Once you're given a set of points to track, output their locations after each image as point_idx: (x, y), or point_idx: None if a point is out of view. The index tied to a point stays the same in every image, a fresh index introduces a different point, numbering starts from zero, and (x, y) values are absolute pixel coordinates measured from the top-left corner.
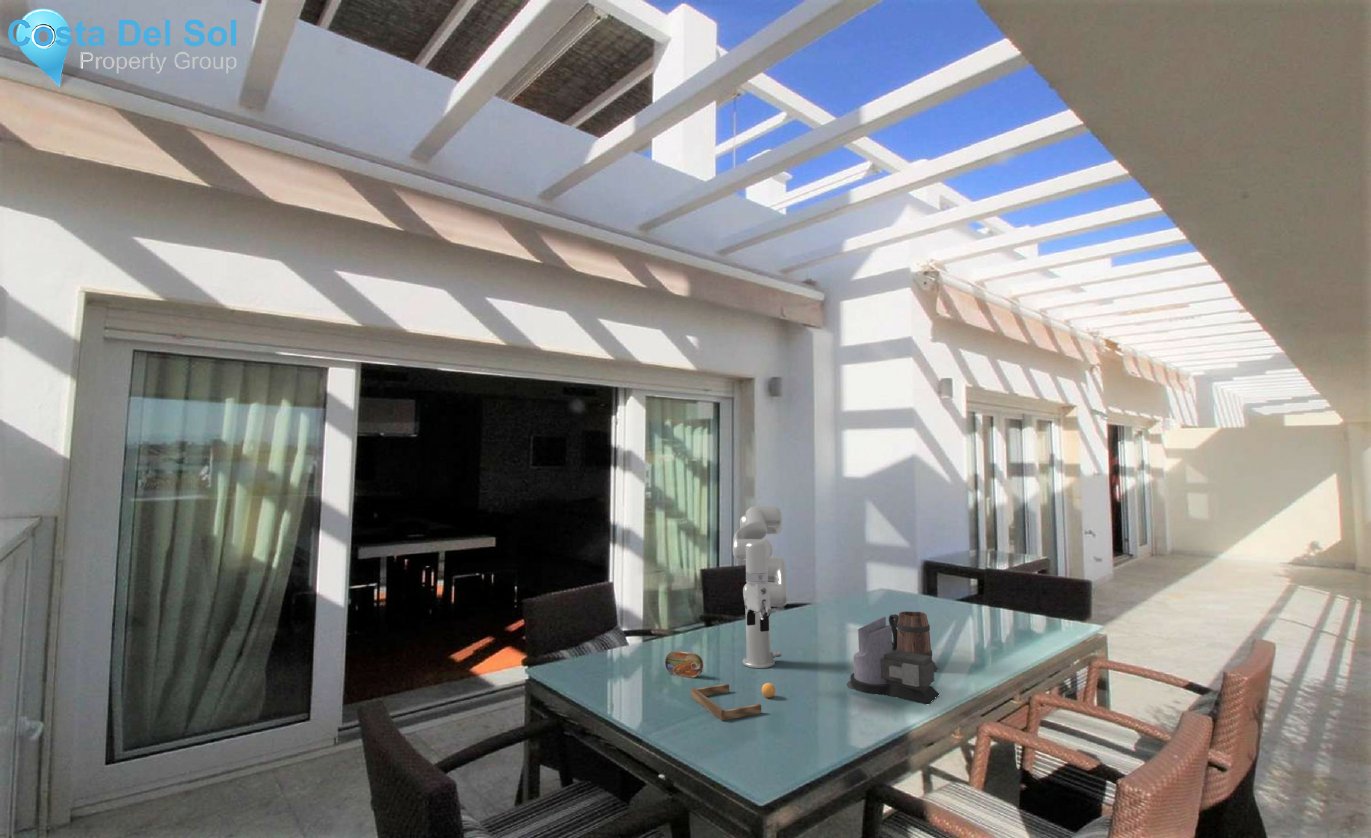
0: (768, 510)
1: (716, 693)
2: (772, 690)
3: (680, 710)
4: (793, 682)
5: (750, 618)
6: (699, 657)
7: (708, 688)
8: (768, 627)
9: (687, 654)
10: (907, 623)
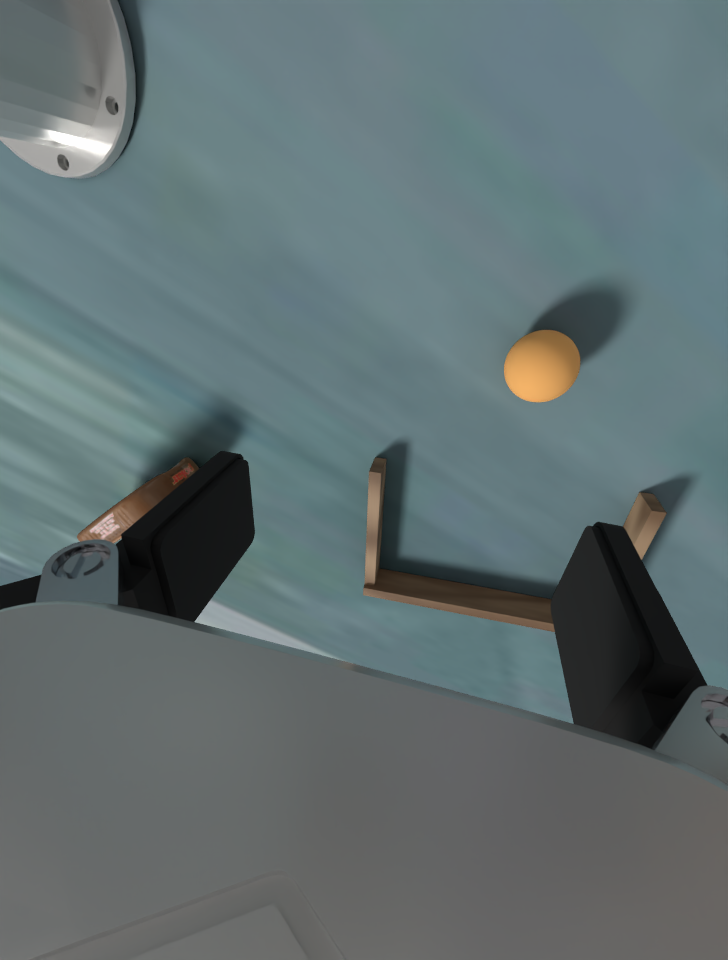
0: None
1: (382, 506)
2: (579, 368)
3: (444, 637)
4: (437, 36)
5: (211, 563)
6: (151, 495)
7: (377, 545)
8: (632, 557)
9: (126, 528)
10: None
